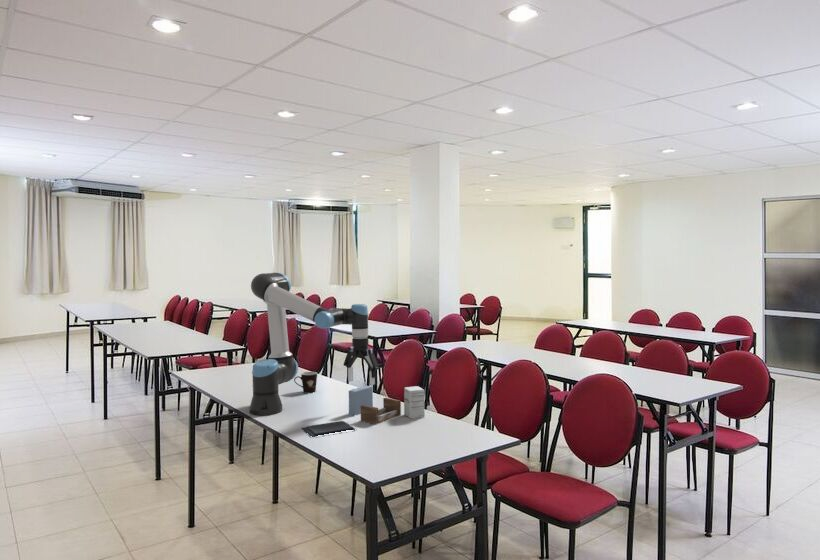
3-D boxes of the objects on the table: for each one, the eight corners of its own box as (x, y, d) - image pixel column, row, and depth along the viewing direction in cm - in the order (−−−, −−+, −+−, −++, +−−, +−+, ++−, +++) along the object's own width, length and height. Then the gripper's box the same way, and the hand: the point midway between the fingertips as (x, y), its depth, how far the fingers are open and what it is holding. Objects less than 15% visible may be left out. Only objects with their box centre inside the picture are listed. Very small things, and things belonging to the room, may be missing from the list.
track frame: (376, 424, 240) (376, 408, 240) (360, 420, 246) (360, 405, 246) (400, 415, 254) (400, 400, 254) (385, 412, 259) (385, 397, 259)
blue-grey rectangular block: (355, 415, 254) (355, 391, 254) (348, 414, 256) (348, 390, 256) (372, 409, 263) (372, 386, 263) (366, 408, 266) (366, 385, 265)
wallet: (311, 435, 223) (300, 424, 236) (311, 439, 223) (300, 429, 236) (357, 427, 232) (345, 418, 245) (357, 432, 232) (345, 422, 245)
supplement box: (403, 414, 255) (403, 387, 254) (418, 412, 258) (418, 385, 257) (409, 418, 248) (409, 390, 248) (425, 417, 251) (424, 389, 250)
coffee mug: (319, 390, 303) (319, 371, 303) (315, 393, 295) (314, 375, 294) (298, 389, 304) (298, 371, 304) (293, 393, 296) (293, 374, 295)
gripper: (386, 338, 254) (387, 384, 255) (346, 334, 269) (347, 378, 270) (375, 340, 248) (376, 387, 249) (335, 336, 263) (336, 381, 264)
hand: (361, 383), depth 259 cm, fingers open, 13 cm apart
